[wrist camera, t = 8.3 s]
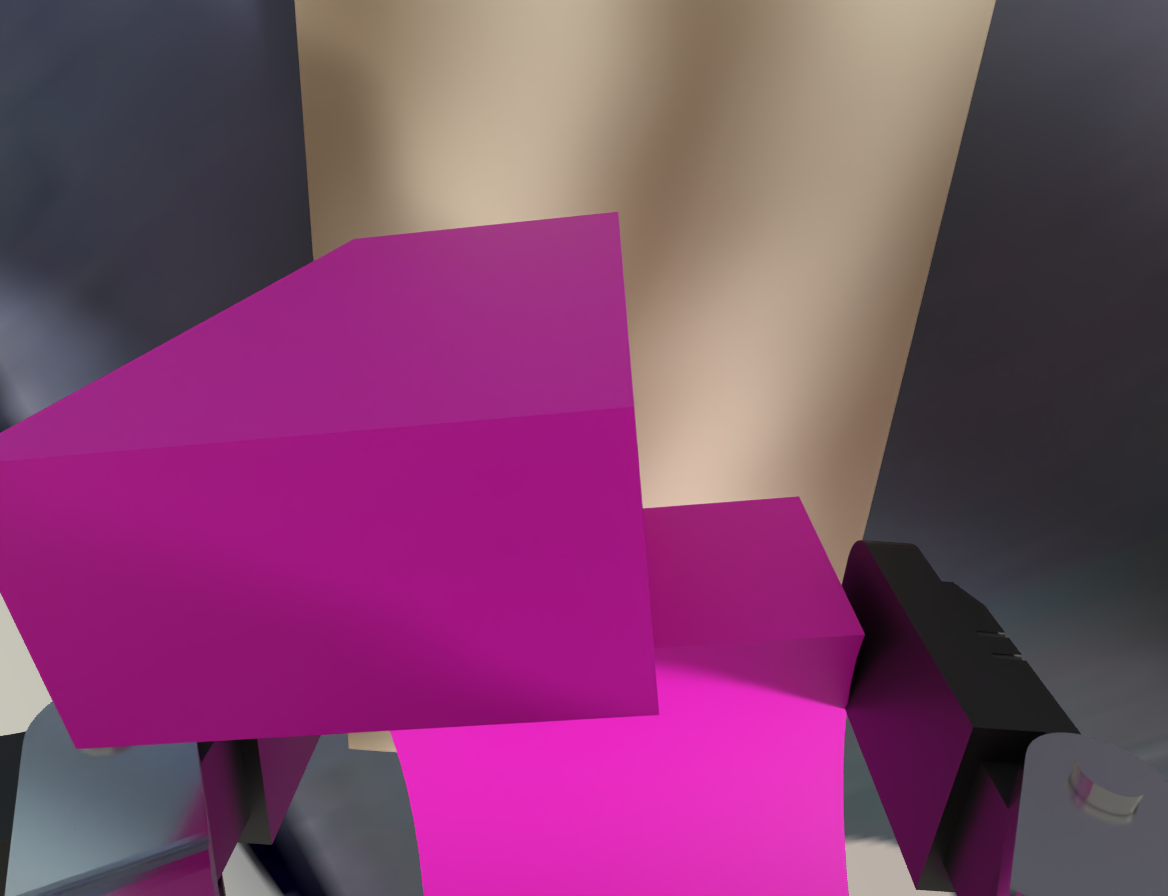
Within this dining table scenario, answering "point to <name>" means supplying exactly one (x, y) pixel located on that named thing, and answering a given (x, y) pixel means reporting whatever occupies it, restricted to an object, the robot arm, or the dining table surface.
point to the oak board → (679, 199)
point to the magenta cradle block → (444, 573)
